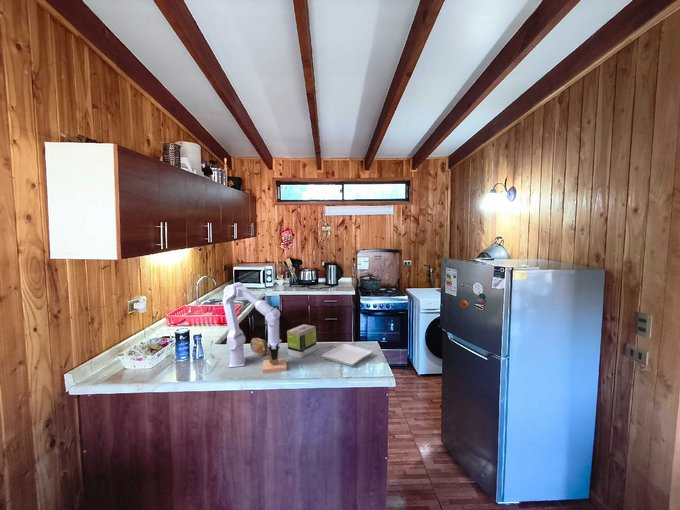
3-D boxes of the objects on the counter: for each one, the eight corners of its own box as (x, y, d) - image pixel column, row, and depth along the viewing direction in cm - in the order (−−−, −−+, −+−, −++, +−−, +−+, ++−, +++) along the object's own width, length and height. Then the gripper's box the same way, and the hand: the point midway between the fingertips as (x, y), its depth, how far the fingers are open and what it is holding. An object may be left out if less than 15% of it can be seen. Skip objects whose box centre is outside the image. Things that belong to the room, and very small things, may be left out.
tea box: (304, 347, 200) (303, 323, 199) (317, 350, 194) (316, 326, 193) (287, 355, 187) (286, 330, 186) (300, 358, 182) (299, 333, 181)
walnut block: (269, 360, 173) (269, 349, 172) (278, 359, 173) (277, 348, 173) (269, 363, 168) (269, 352, 168) (278, 362, 169) (277, 351, 169)
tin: (250, 350, 196) (249, 336, 195) (254, 349, 198) (254, 335, 197) (264, 356, 185) (264, 342, 185) (269, 355, 188) (268, 341, 187)
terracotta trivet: (263, 364, 176) (263, 360, 176) (285, 362, 178) (285, 358, 178) (262, 374, 164) (262, 369, 164) (286, 371, 166) (286, 367, 166)
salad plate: (352, 369, 167) (352, 363, 167) (320, 360, 180) (320, 354, 179) (373, 356, 184) (373, 350, 184) (343, 348, 197) (343, 343, 196)
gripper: (281, 336, 163) (282, 362, 164) (281, 327, 177) (281, 351, 179) (267, 337, 162) (268, 363, 163) (267, 328, 176) (268, 353, 177)
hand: (274, 357), depth 171 cm, fingers closed on walnut block, 4 cm apart
